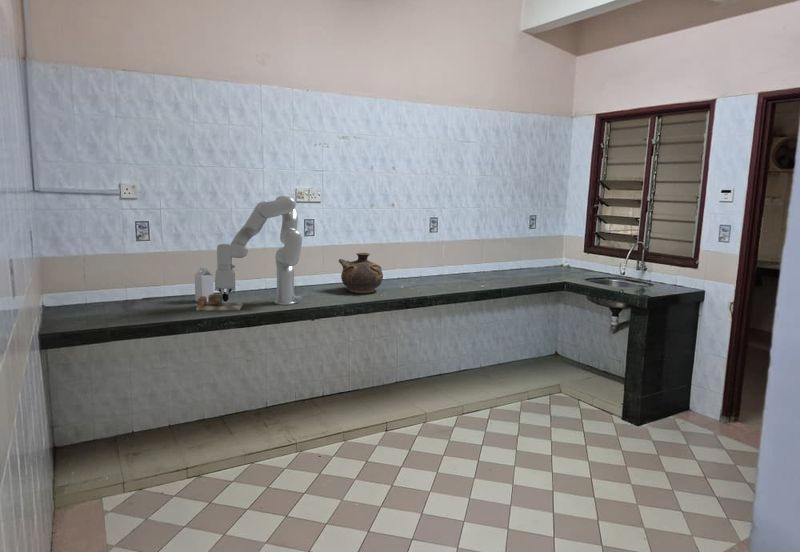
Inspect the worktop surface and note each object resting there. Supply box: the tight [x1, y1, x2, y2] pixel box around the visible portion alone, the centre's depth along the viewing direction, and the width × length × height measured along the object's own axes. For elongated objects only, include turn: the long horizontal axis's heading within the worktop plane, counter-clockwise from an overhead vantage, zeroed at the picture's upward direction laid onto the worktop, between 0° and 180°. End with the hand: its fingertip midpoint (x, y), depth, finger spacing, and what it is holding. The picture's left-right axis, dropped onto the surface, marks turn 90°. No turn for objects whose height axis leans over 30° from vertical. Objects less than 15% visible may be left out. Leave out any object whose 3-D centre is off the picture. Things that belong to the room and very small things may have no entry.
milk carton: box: [194, 266, 214, 303], centre depth 304 cm, size 7×7×19 cm
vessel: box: [338, 252, 384, 294], centre depth 347 cm, size 27×28×25 cm
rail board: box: [196, 296, 243, 311], centre depth 290 cm, size 22×11×6 cm, turn 100°
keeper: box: [207, 293, 223, 305], centre depth 289 cm, size 6×6×5 cm
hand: (225, 301), depth 290 cm, fingers closed
